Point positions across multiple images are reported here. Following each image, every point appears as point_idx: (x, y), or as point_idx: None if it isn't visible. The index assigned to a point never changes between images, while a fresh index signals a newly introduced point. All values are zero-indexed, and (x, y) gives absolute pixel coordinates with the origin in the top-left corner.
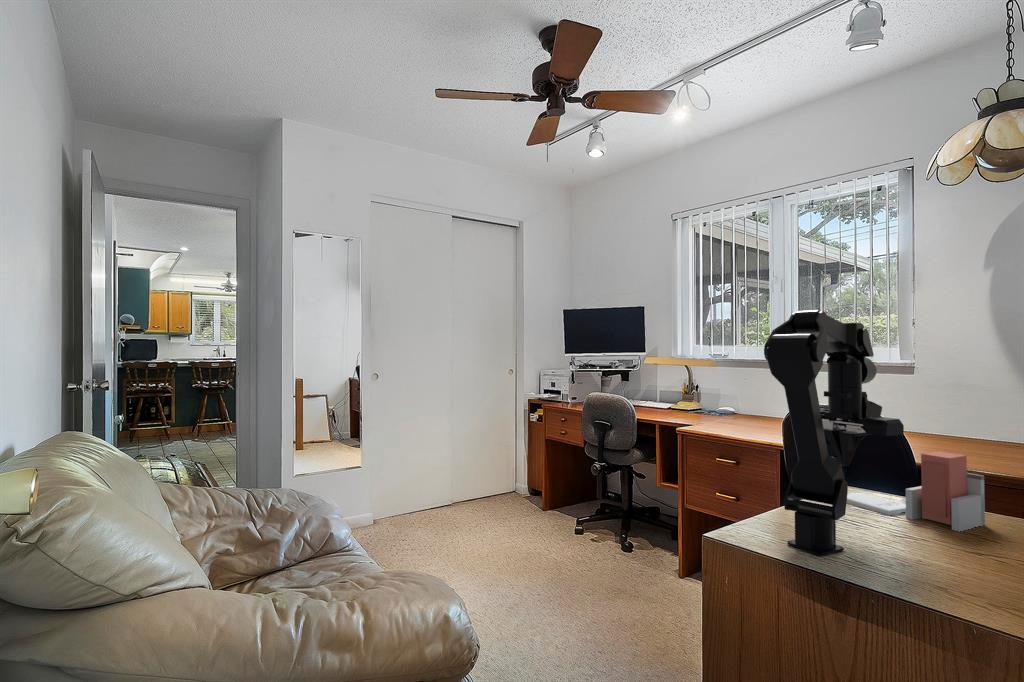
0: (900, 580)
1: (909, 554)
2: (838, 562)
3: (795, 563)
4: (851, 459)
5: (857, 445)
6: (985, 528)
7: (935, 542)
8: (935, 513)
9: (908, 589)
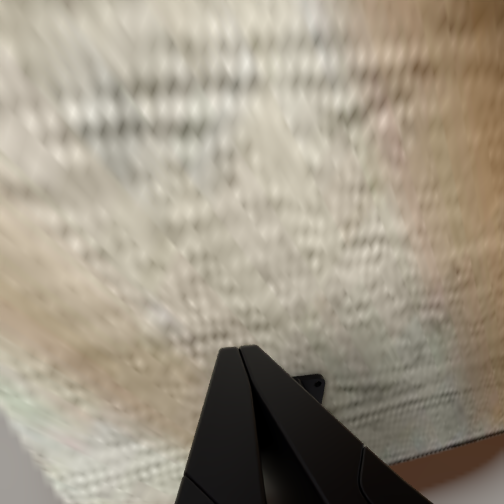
0: (454, 391)
1: (428, 253)
2: (347, 424)
3: None
4: (286, 377)
5: (417, 498)
6: None
7: (454, 63)
8: None
9: (472, 408)
